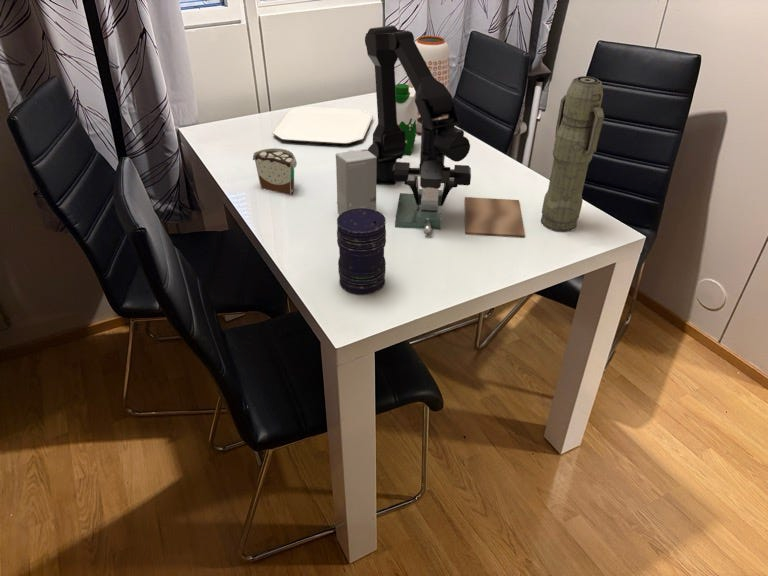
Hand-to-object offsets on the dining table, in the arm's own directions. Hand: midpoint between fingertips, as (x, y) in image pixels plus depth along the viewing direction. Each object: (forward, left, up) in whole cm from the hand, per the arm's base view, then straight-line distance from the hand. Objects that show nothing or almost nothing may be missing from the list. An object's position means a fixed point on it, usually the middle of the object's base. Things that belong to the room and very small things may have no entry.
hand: (429, 204), depth 152 cm
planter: (-3, +56, -3) cm, 56 cm away
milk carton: (-10, +39, -3) cm, 40 cm away
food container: (-40, +10, -3) cm, 41 cm away
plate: (-36, +53, -3) cm, 64 cm away
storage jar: (-13, -31, -3) cm, 34 cm away
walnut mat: (+16, 0, -2) cm, 16 cm away
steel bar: (0, 0, -3) cm, 3 cm away
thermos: (+32, -1, -3) cm, 32 cm away
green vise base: (-3, -2, -2) cm, 4 cm away
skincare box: (-18, -2, -3) cm, 18 cm away
